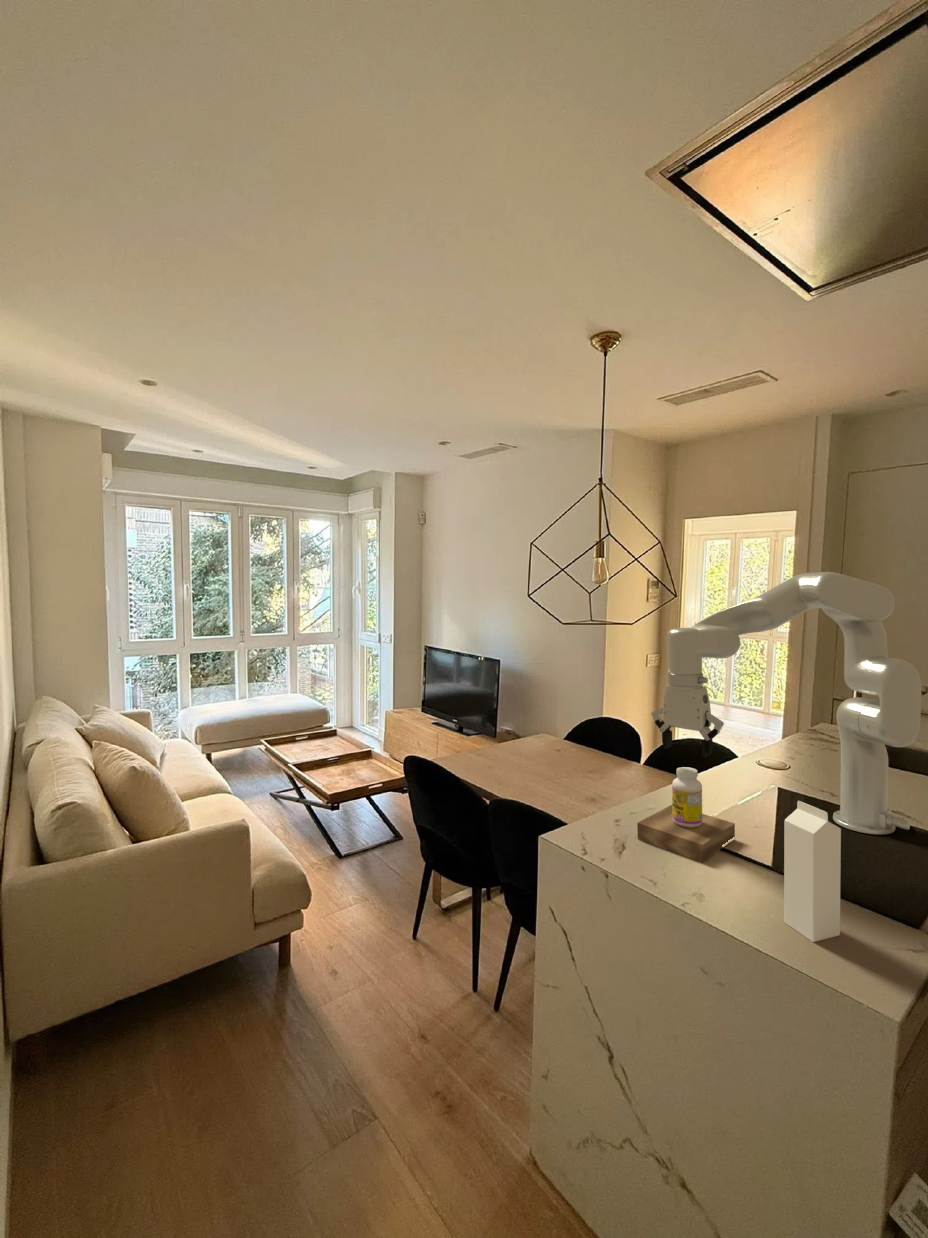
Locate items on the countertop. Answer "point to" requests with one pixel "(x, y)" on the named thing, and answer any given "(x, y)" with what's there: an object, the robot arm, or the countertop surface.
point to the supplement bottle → (687, 798)
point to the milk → (812, 873)
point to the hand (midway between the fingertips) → (686, 751)
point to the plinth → (686, 834)
